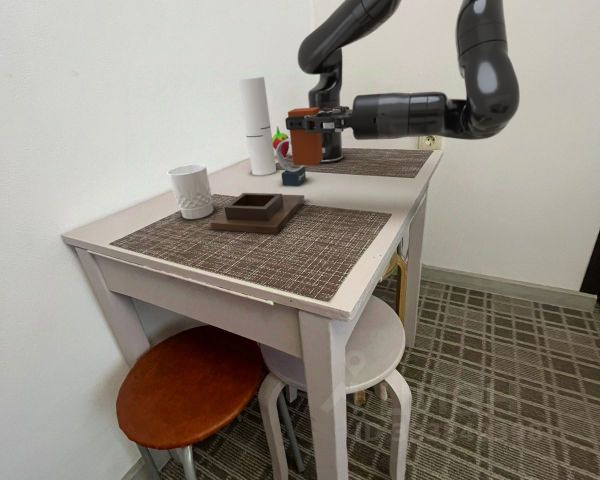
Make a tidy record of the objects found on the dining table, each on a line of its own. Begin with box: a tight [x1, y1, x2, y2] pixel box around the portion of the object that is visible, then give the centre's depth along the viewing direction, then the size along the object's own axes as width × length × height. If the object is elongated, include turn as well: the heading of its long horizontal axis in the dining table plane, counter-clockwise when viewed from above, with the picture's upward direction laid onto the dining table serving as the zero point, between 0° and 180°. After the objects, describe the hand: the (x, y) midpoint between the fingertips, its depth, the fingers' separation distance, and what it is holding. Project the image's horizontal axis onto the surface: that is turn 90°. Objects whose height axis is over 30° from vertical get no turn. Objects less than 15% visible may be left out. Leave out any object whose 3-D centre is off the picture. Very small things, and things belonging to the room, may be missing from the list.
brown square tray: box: [210, 192, 306, 235], centre depth 68 cm, size 16×14×4 cm
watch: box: [275, 137, 307, 187], centre depth 83 cm, size 6×8×11 cm
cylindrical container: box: [236, 76, 277, 176], centre depth 92 cm, size 7×7×25 cm
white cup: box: [166, 163, 214, 220], centre depth 70 cm, size 8×8×10 cm
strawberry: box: [272, 125, 290, 157], centre depth 109 cm, size 6×7×10 cm
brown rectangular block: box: [287, 107, 323, 166], centre depth 63 cm, size 4×5×10 cm
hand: (291, 121), depth 63 cm, fingers closed on brown rectangular block, 4 cm apart
